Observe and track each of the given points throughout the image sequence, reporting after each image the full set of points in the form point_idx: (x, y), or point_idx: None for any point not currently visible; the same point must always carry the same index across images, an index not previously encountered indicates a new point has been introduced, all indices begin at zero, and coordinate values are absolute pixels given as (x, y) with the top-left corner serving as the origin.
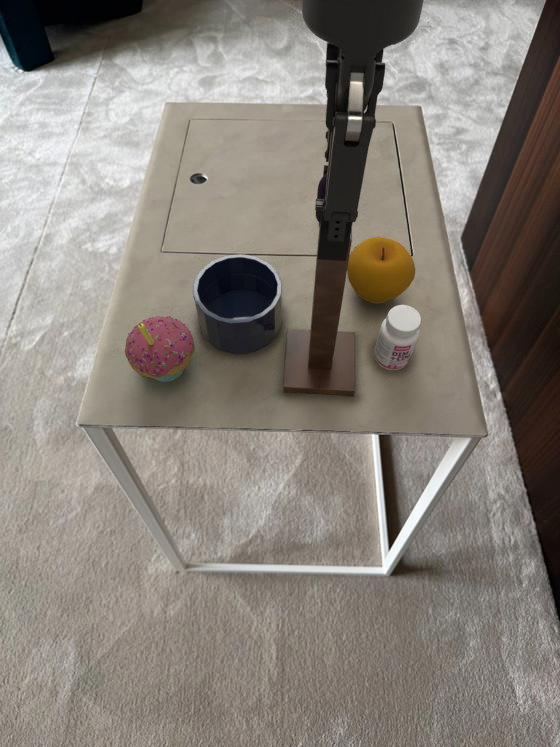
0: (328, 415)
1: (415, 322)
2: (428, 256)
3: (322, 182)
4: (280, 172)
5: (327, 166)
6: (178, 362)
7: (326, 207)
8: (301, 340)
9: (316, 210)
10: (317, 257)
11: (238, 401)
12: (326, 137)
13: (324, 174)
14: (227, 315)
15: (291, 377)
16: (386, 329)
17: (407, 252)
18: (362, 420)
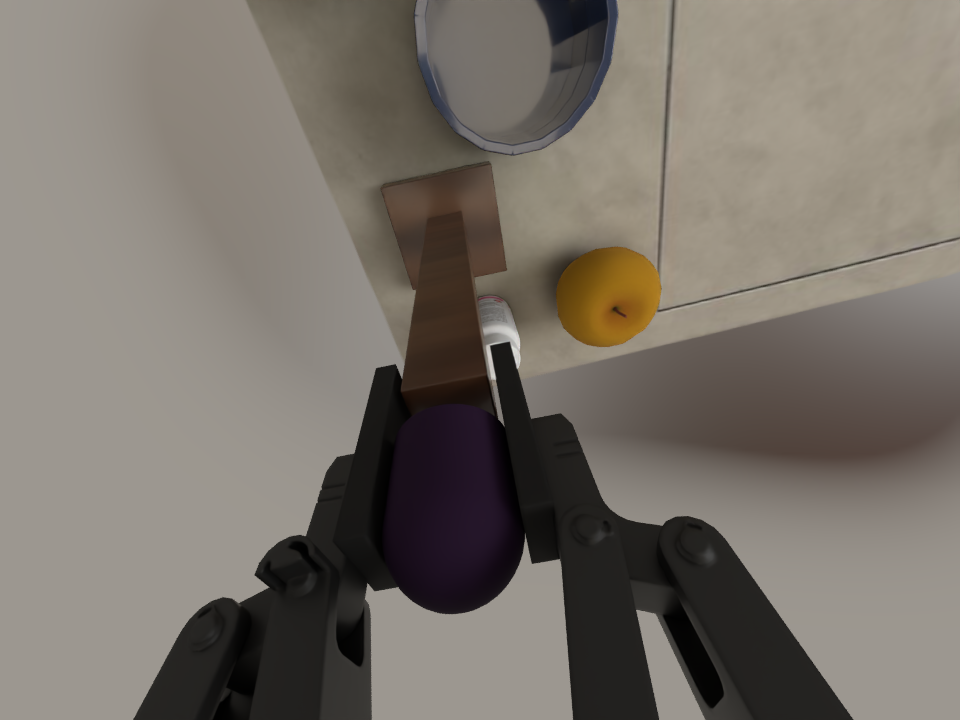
0: (375, 258)
1: (493, 374)
2: (656, 330)
3: (426, 541)
4: (923, 15)
5: (546, 511)
6: None
7: (140, 710)
8: (472, 195)
9: (424, 428)
10: (375, 372)
11: (337, 110)
12: (678, 544)
13: (518, 493)
14: (503, 16)
15: (401, 197)
16: (486, 334)
17: (624, 342)
18: (385, 300)
